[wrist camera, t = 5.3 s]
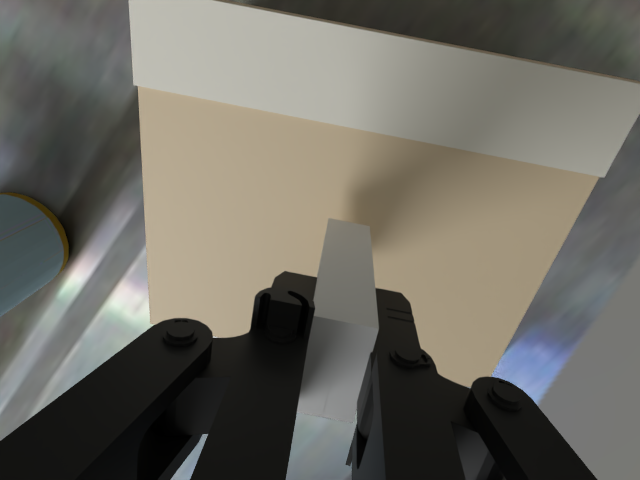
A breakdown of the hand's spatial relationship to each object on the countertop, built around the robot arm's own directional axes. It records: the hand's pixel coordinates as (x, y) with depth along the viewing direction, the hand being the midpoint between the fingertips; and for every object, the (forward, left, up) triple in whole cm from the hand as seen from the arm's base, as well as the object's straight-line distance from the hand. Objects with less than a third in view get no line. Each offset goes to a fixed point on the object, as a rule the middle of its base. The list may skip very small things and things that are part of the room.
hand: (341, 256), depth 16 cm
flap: (+1, 0, -2) cm, 2 cm away
